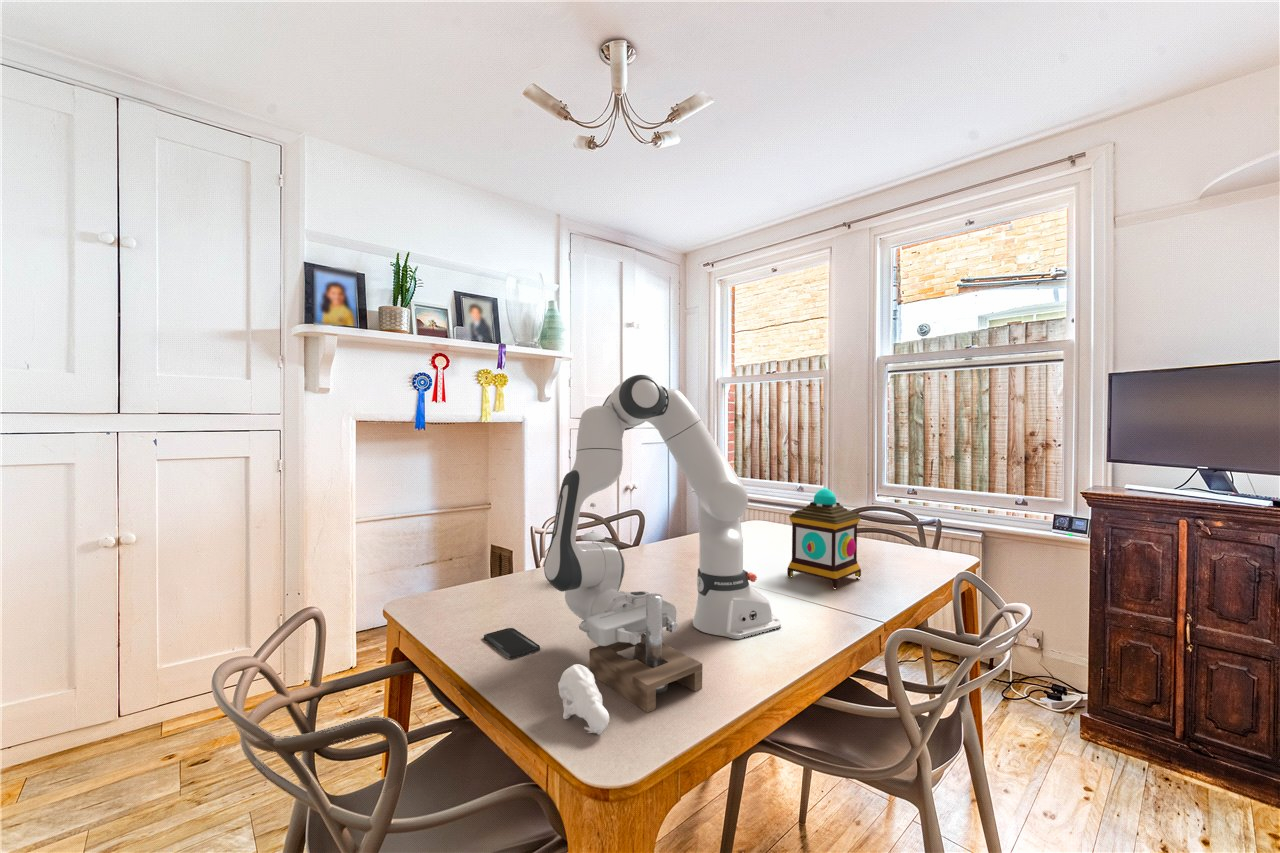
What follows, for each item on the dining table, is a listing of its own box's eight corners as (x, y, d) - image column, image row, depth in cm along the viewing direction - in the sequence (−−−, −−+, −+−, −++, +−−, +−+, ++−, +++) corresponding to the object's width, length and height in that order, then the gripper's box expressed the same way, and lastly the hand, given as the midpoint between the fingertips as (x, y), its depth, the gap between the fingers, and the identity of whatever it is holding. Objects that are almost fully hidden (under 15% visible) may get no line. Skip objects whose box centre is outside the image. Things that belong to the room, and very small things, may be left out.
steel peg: (661, 677, 110) (662, 590, 109) (672, 690, 105) (672, 599, 104) (635, 681, 108) (636, 593, 108) (645, 695, 103) (645, 602, 102)
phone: (511, 627, 134) (541, 646, 122) (511, 631, 134) (541, 651, 122) (481, 635, 129) (509, 656, 117) (481, 639, 129) (509, 661, 117)
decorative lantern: (781, 577, 178) (781, 487, 177) (811, 566, 192) (812, 482, 191) (838, 592, 163) (839, 494, 163) (867, 579, 177) (868, 488, 176)
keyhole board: (589, 672, 112) (589, 649, 111) (641, 654, 120) (641, 632, 120) (647, 712, 97) (647, 685, 97) (702, 688, 106) (702, 663, 105)
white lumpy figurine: (586, 656, 100) (621, 689, 90) (584, 699, 101) (618, 736, 91) (556, 664, 96) (589, 700, 87) (553, 709, 97) (586, 749, 87)
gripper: (574, 609, 110) (614, 631, 99) (651, 589, 122) (693, 606, 112) (574, 640, 110) (614, 664, 99) (651, 616, 122) (693, 636, 112)
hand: (657, 633), depth 105 cm, fingers open, 8 cm apart
